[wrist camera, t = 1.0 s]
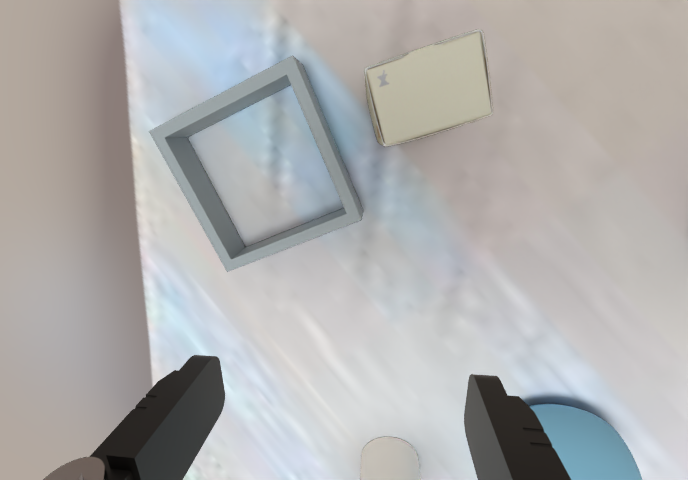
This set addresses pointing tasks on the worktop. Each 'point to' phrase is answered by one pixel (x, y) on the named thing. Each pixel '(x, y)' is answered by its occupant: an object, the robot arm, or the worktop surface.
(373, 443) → the cylindrical container
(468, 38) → the skincare box
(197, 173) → the box
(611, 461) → the sugar bowl
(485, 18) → the worktop surface
